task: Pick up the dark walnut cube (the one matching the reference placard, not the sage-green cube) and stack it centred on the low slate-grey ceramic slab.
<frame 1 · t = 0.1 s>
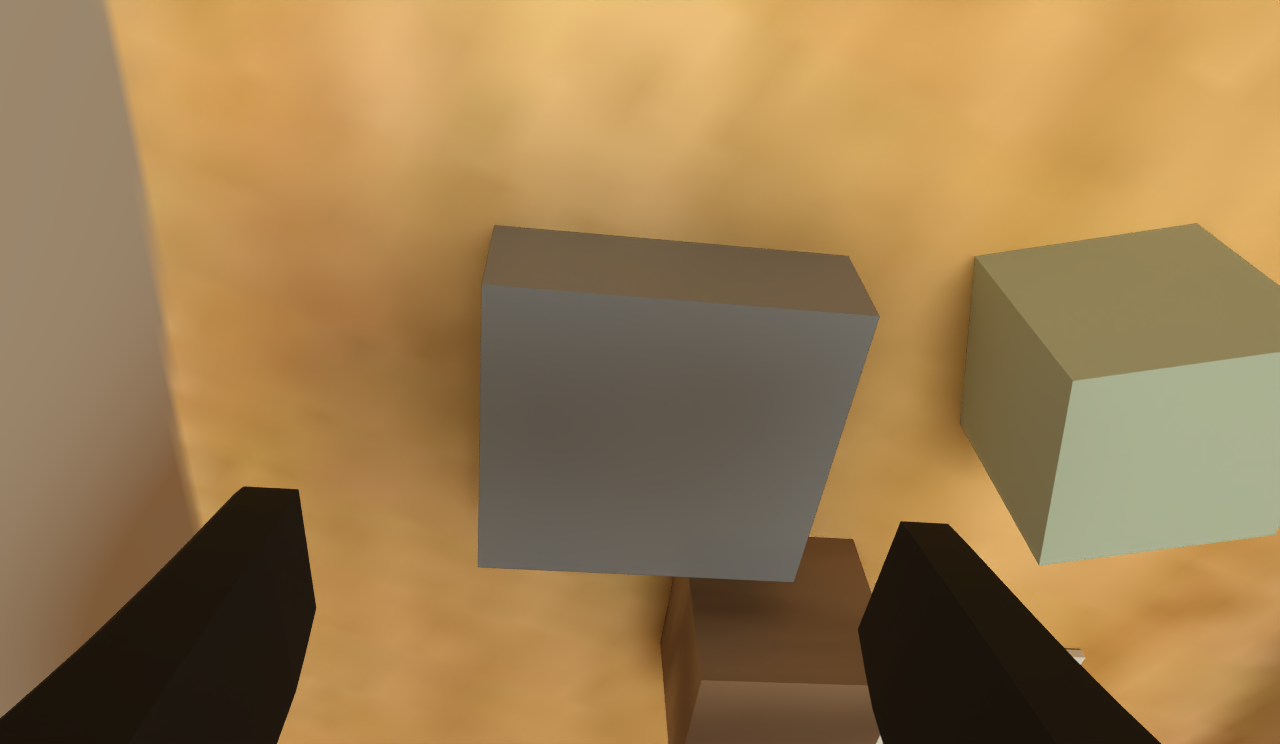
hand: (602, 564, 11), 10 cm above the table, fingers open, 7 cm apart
sage block: (1068, 329, 21), on the table
walnut block: (752, 590, 26), on the table
slate slab: (652, 376, 22), on the table
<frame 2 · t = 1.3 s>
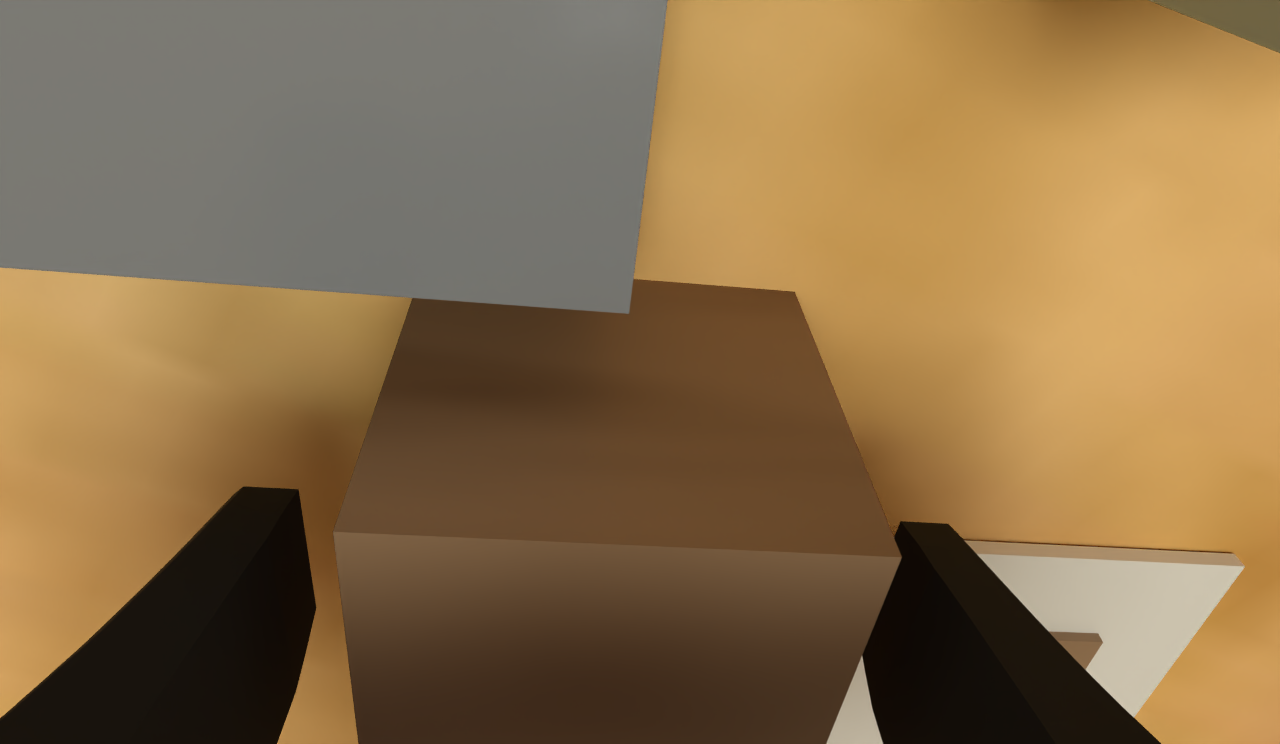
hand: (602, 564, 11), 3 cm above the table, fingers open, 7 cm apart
reference placard: (980, 670, 17), on the table
walnut block: (597, 420, 13), on the table
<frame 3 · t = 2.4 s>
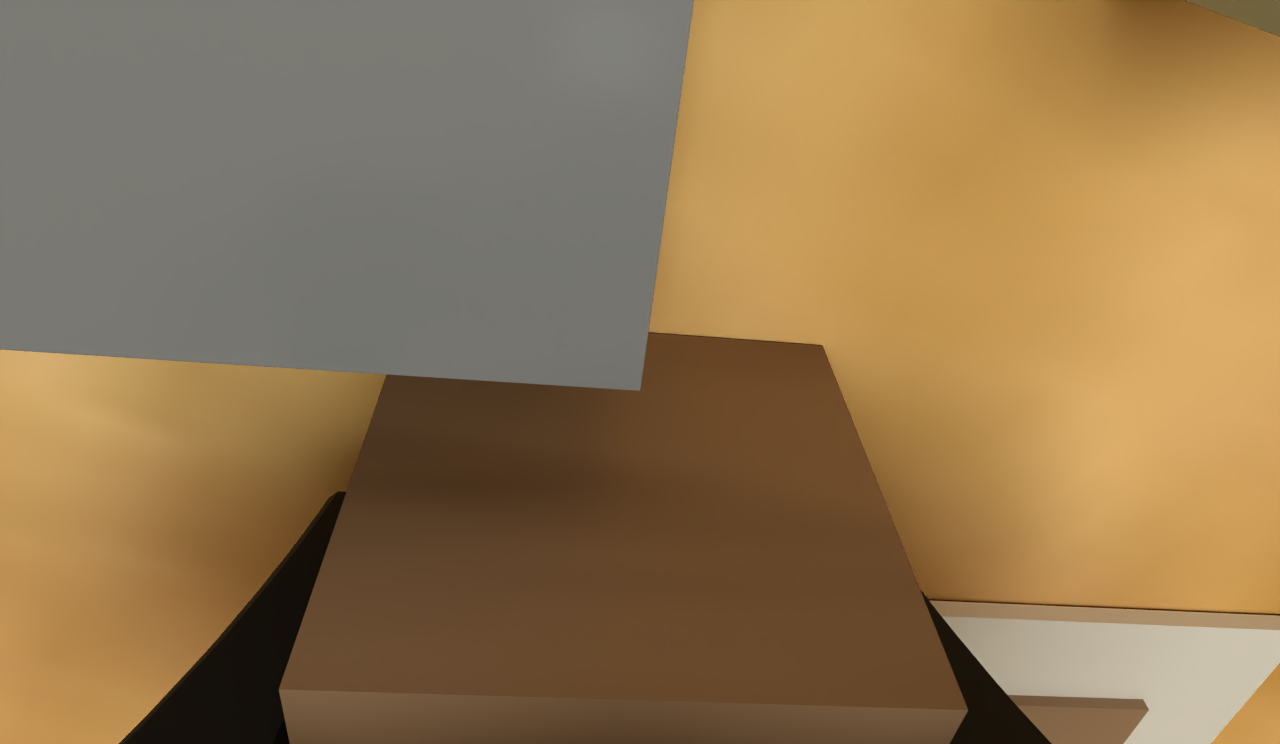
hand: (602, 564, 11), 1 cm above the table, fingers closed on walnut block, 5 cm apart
reference placard: (1013, 734, 16), on the table
walnut block: (601, 485, 12), on the table, touching gripper
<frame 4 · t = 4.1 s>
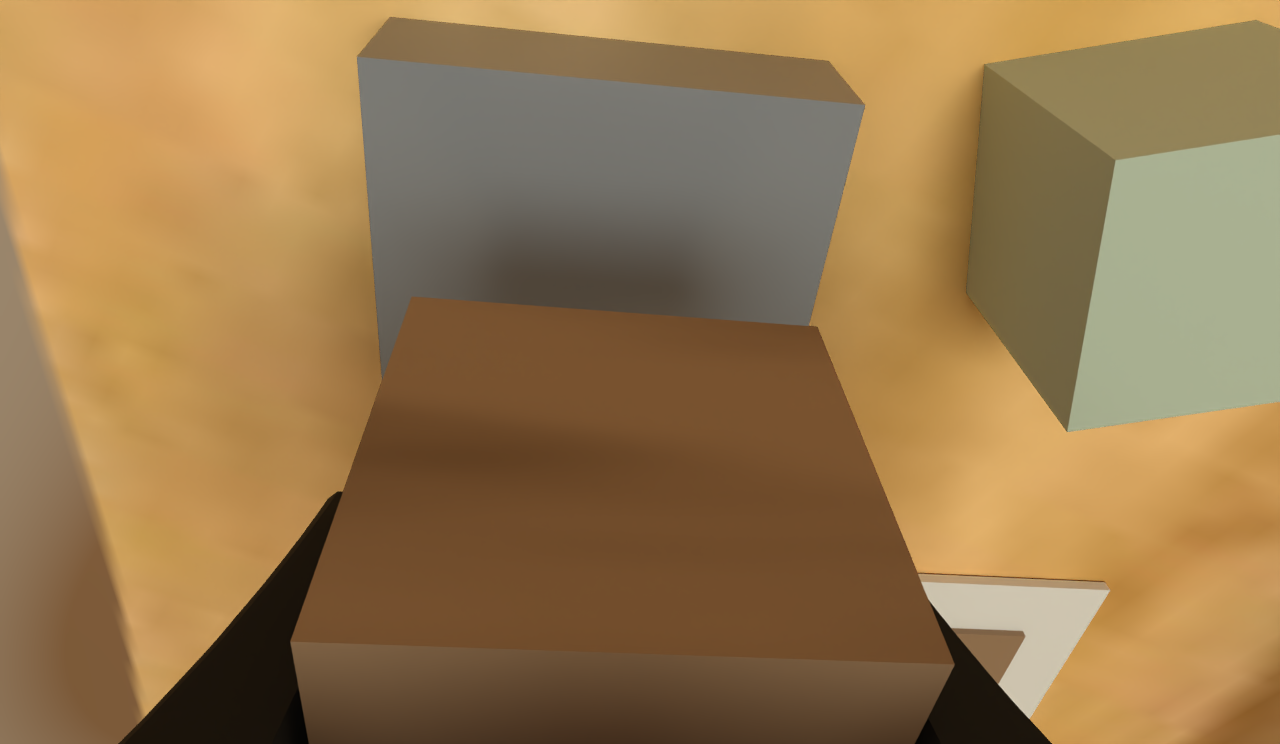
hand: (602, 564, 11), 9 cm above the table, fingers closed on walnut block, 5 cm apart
reference placard: (950, 654, 26), on the table
sage block: (1096, 166, 18), on the table
walnut block: (601, 466, 12), point 7 cm above the table, touching gripper
slate slab: (597, 230, 18), on the table
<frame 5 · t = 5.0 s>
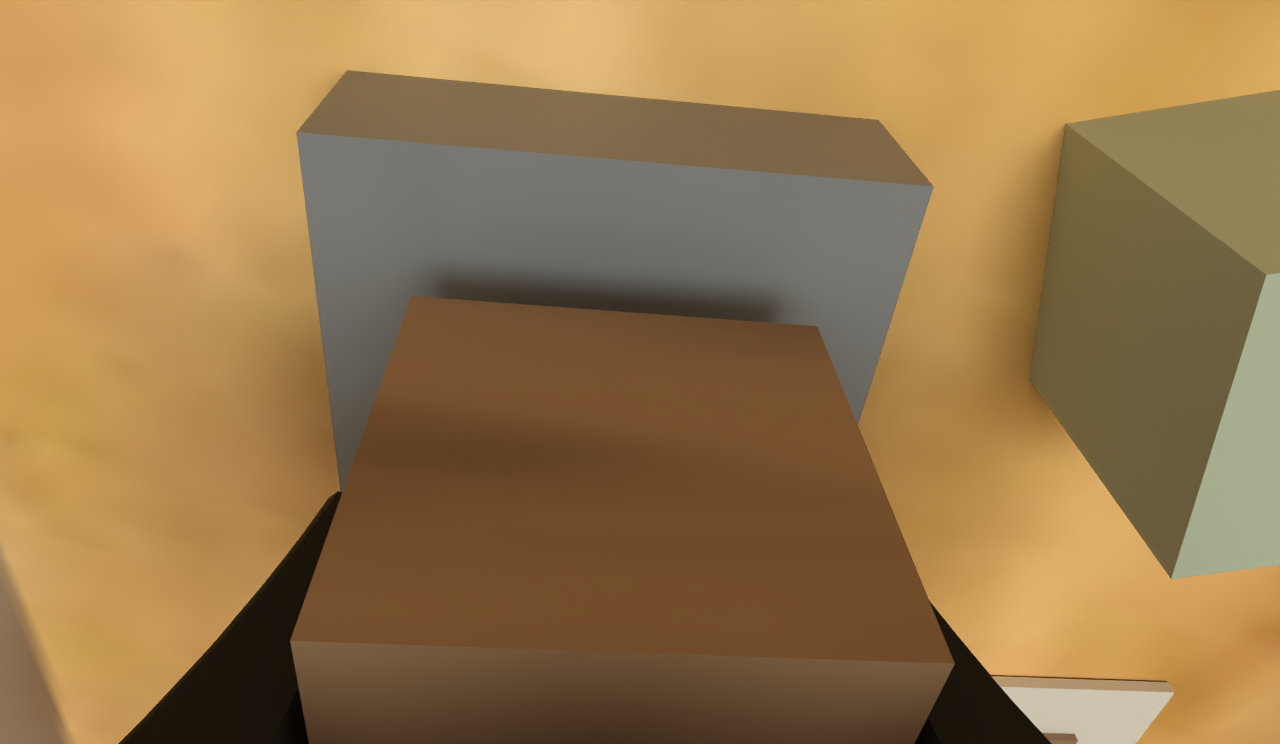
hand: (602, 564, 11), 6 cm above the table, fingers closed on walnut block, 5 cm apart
sage block: (1189, 239, 15), on the table
walnut block: (601, 465, 12), point 4 cm above the table, touching gripper
slate slab: (599, 311, 15), on the table
when the fingers open (6 cm above the table, at t = 5.6 s): walnut block drops 1 cm, point 3 cm above the table.
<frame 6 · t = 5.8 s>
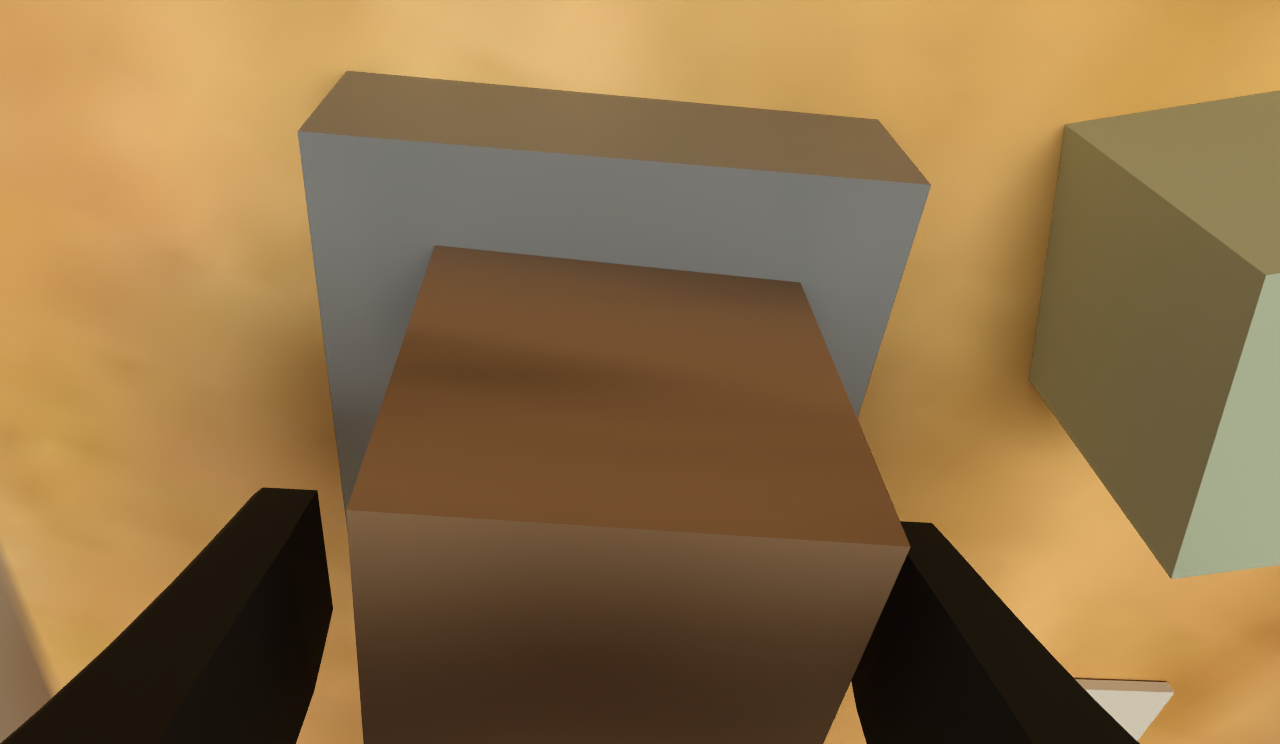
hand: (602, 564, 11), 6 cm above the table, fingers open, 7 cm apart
sage block: (1189, 240, 15), on the table
walnut block: (601, 410, 13), point 3 cm above the table
slate slab: (599, 309, 16), on the table
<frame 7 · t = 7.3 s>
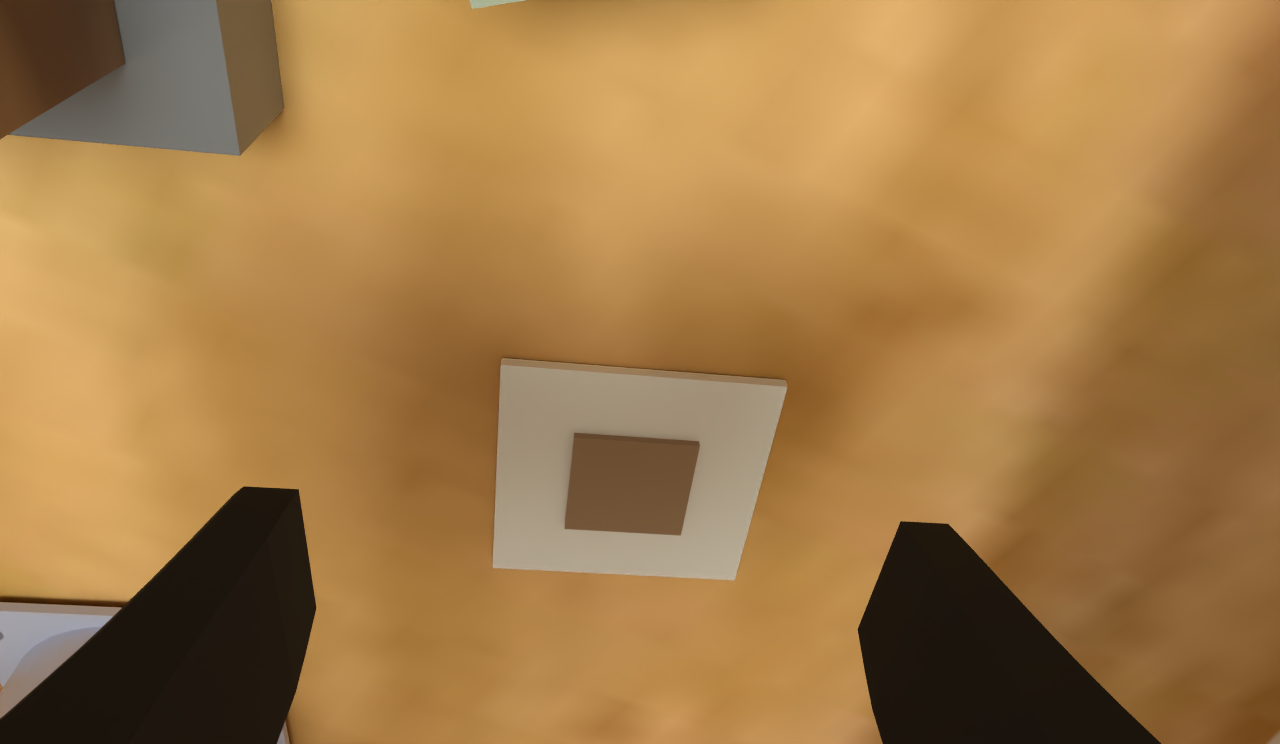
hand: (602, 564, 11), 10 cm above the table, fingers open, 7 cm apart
reference placard: (629, 476, 23), on the table
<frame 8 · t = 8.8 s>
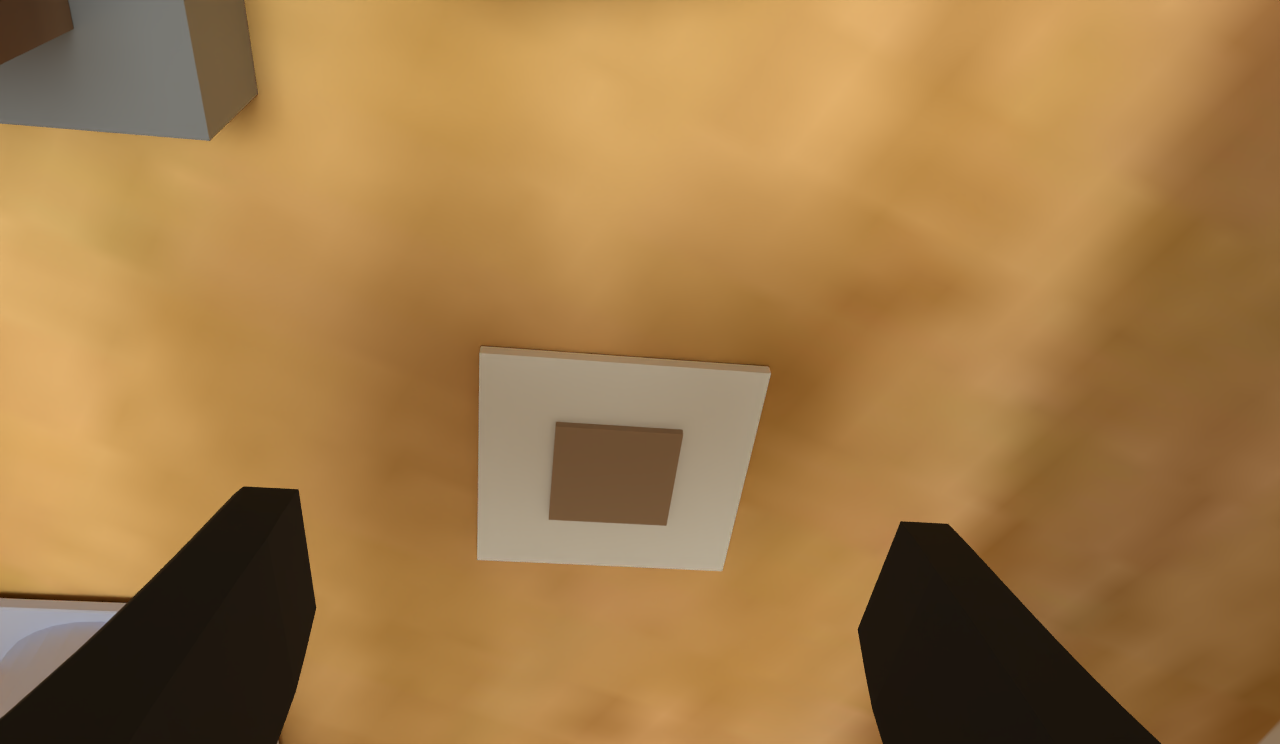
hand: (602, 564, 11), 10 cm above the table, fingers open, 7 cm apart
reference placard: (613, 465, 23), on the table
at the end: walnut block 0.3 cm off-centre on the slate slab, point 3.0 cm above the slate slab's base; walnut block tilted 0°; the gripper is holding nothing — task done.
